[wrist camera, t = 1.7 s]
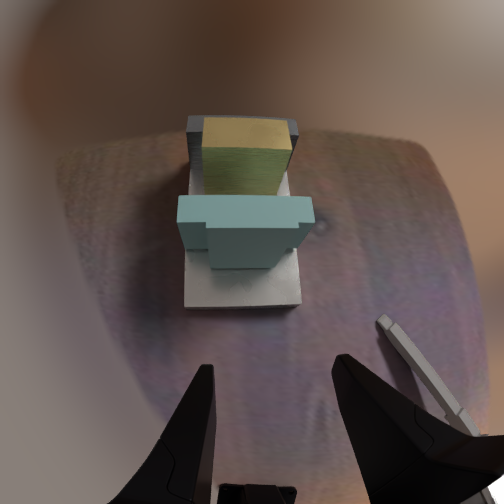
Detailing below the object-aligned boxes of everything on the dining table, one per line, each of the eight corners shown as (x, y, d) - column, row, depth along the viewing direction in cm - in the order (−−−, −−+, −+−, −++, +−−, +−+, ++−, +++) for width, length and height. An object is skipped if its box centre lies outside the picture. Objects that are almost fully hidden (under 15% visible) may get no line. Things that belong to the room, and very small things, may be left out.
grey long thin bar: (457, 440, 19) (494, 446, 13) (452, 447, 19) (489, 454, 13) (381, 314, 23) (423, 300, 18) (374, 321, 23) (415, 309, 17)
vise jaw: (299, 267, 22) (332, 228, 15) (184, 268, 21) (168, 228, 14) (294, 226, 23) (322, 176, 16) (185, 226, 22) (174, 173, 15)
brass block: (274, 201, 24) (292, 149, 18) (205, 201, 23) (201, 147, 17) (271, 174, 25) (286, 120, 19) (206, 173, 24) (204, 117, 18)
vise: (296, 306, 23) (324, 289, 17) (186, 309, 22) (173, 292, 16) (280, 160, 28) (294, 115, 22) (193, 159, 27) (189, 112, 21)
